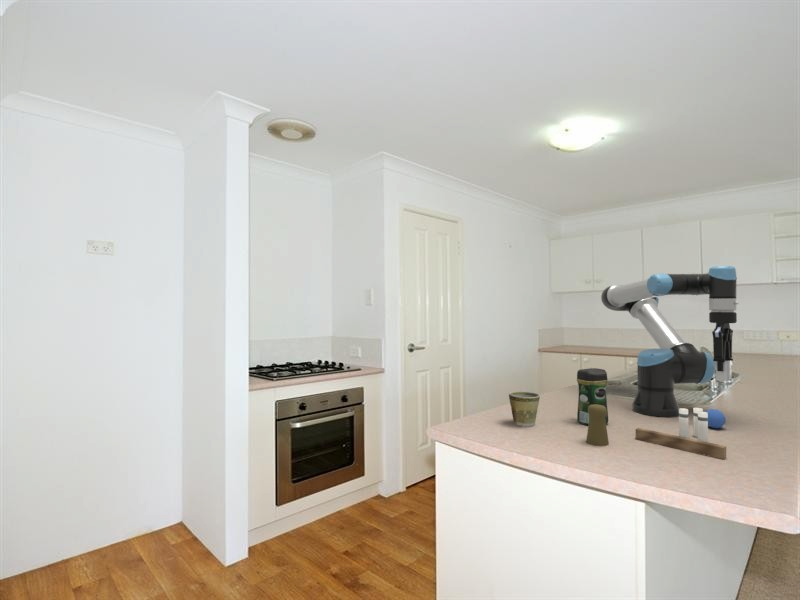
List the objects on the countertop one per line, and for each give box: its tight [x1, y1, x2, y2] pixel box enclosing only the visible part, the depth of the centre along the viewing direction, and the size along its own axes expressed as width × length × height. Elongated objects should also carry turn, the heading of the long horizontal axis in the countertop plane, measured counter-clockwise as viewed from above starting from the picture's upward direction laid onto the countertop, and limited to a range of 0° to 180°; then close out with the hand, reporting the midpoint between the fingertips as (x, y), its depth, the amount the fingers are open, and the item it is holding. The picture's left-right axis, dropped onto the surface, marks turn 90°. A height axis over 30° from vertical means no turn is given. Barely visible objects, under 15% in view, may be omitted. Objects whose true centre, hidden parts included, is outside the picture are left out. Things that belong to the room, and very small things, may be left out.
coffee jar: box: [576, 367, 609, 426], centre depth 149 cm, size 10×8×19 cm
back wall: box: [635, 427, 727, 460], centre depth 123 cm, size 22×2×3 cm, turn 39°
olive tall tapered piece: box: [586, 404, 610, 447], centre depth 127 cm, size 6×6×11 cm
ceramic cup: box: [508, 391, 541, 428], centre depth 148 cm, size 13×10×10 cm
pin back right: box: [697, 410, 709, 443], centre depth 128 cm, size 2×2×9 cm
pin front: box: [692, 407, 704, 438], centre depth 133 cm, size 2×2×9 cm
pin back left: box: [678, 407, 689, 438], centre depth 132 cm, size 2×2×9 cm
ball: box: [705, 408, 727, 429], centre depth 142 cm, size 6×6×6 cm
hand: (723, 380), depth 149 cm, fingers open, 3 cm apart
